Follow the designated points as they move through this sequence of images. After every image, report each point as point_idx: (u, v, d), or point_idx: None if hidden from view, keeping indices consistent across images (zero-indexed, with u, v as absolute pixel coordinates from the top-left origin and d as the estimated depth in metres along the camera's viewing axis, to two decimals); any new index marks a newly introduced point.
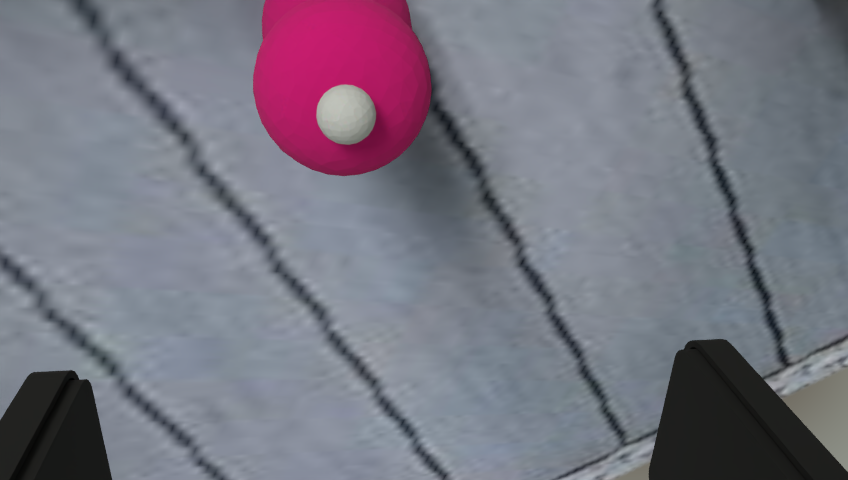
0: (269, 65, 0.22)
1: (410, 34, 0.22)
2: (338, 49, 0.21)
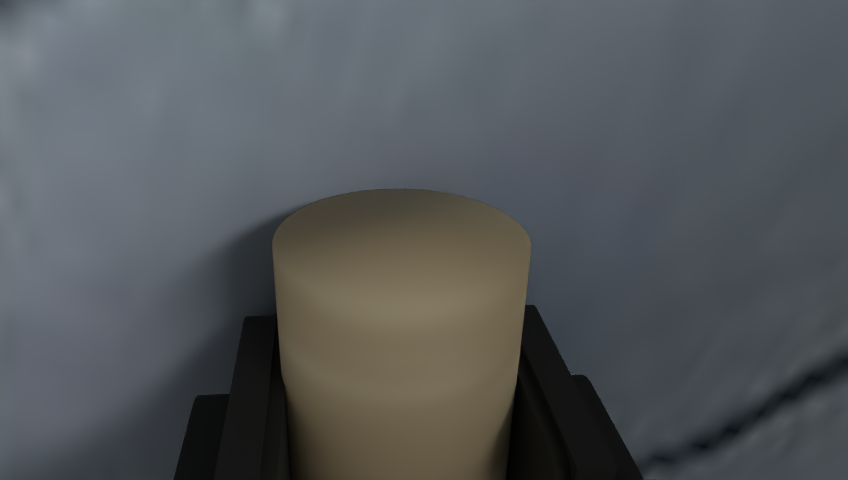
0: None
1: None
2: None
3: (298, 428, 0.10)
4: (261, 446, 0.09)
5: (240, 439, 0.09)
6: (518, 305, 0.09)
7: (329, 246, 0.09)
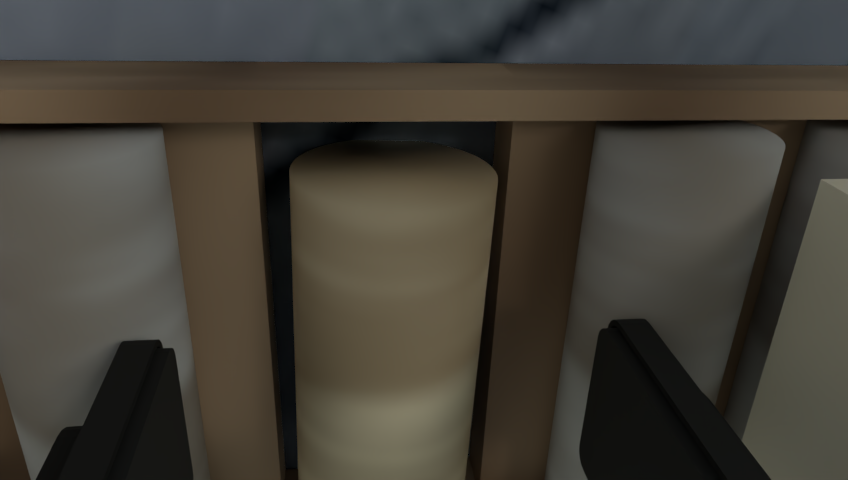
0: None
1: None
2: None
3: (306, 325, 0.12)
4: None
5: None
6: (486, 225, 0.11)
7: (335, 175, 0.11)
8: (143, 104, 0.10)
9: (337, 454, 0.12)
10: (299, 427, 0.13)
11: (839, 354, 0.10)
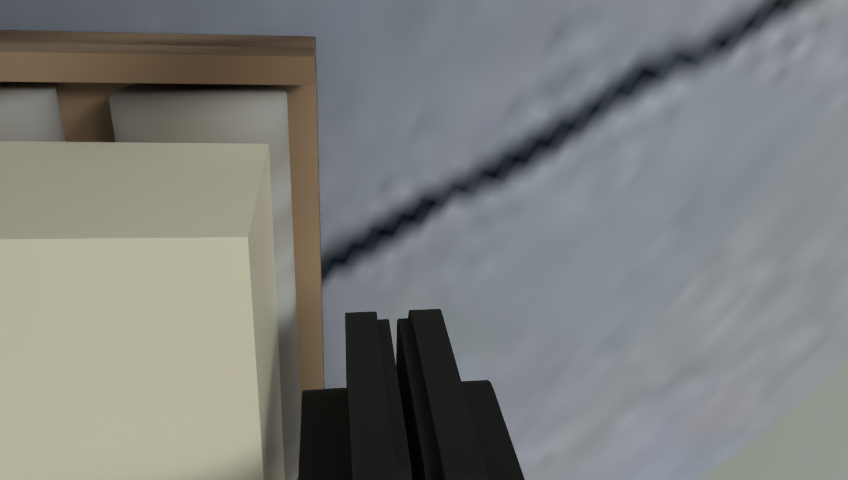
0: None
1: None
2: None
3: None
4: (390, 438, 0.09)
5: (369, 431, 0.09)
6: None
7: None
8: None
9: None
10: None
11: None
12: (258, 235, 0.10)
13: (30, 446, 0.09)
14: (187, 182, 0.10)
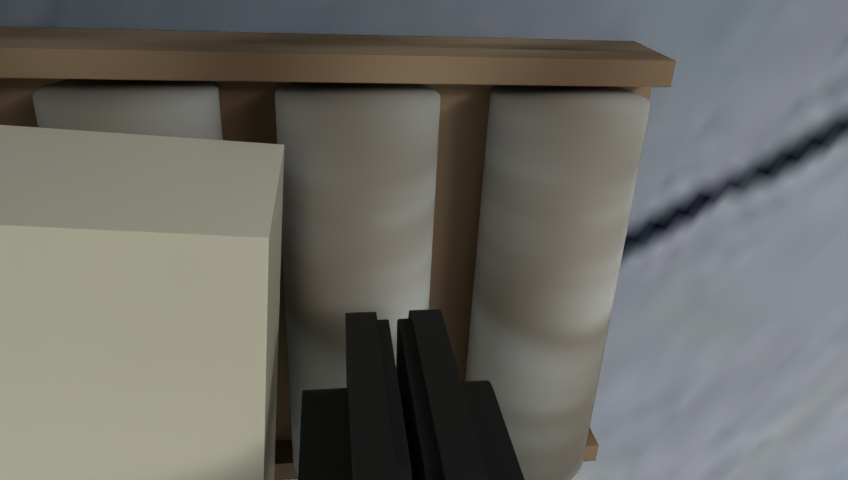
0: None
1: None
2: None
3: None
4: (390, 438, 0.09)
5: (369, 432, 0.09)
6: None
7: None
8: None
9: None
10: None
11: None
12: (274, 235, 0.10)
13: (33, 434, 0.09)
14: (204, 179, 0.10)
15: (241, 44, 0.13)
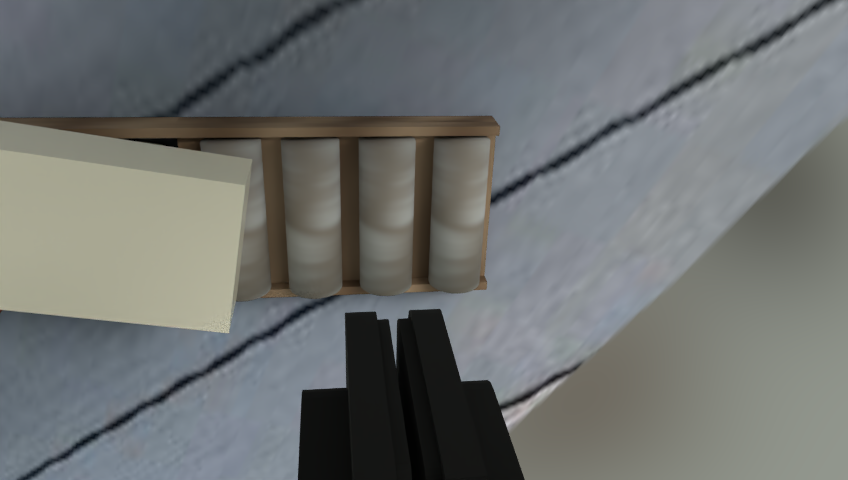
0: None
1: None
2: None
3: None
4: (390, 438, 0.09)
5: (369, 432, 0.09)
6: None
7: None
8: None
9: None
10: None
11: None
12: (246, 186, 0.33)
13: (172, 236, 0.32)
14: (227, 168, 0.33)
15: (346, 123, 0.37)
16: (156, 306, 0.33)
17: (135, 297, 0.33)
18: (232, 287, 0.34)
